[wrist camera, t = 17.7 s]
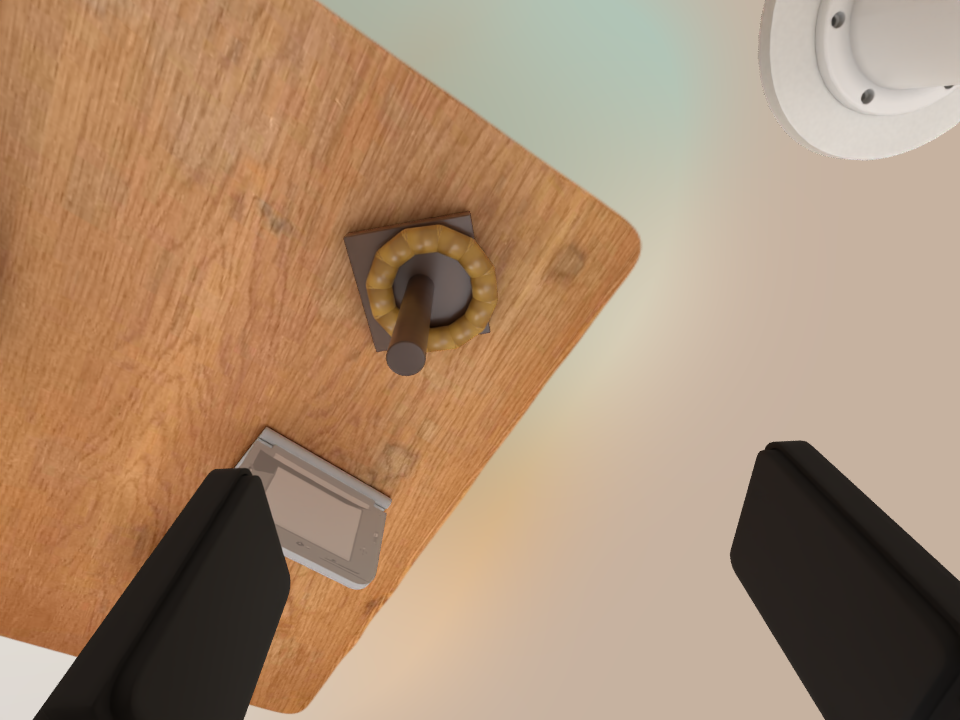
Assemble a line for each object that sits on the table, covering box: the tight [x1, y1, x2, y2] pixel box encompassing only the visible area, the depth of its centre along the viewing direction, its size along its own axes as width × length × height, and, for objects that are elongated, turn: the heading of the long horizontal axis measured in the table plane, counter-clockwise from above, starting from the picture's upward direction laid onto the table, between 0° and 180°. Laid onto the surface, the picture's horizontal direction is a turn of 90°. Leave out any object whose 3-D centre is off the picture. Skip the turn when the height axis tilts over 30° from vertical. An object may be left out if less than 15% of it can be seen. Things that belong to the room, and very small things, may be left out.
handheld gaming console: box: [234, 427, 392, 590], centre depth 40 cm, size 13×9×10 cm
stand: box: [343, 211, 490, 376], centre depth 30 cm, size 9×9×14 cm
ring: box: [366, 225, 498, 352], centre depth 34 cm, size 9×9×2 cm
